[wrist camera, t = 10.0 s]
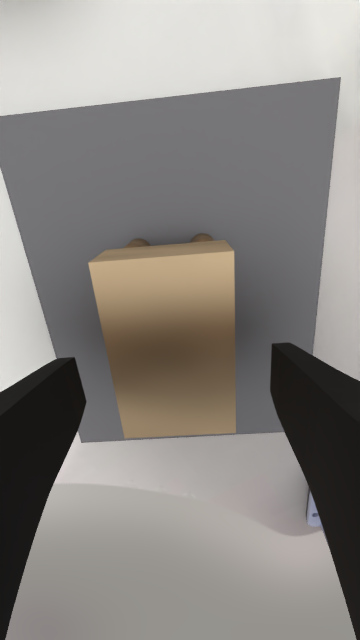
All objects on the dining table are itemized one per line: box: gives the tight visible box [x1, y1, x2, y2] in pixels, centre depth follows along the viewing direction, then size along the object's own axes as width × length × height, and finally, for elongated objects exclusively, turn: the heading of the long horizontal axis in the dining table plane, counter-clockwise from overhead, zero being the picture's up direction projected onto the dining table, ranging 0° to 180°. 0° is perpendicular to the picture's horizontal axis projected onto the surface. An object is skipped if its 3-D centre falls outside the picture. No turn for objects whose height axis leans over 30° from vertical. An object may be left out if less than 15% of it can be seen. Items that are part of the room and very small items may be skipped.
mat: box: [0, 77, 341, 443], centre depth 17 cm, size 20×16×1 cm
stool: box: [88, 233, 236, 438], centre depth 14 cm, size 8×5×6 cm, turn 5°
